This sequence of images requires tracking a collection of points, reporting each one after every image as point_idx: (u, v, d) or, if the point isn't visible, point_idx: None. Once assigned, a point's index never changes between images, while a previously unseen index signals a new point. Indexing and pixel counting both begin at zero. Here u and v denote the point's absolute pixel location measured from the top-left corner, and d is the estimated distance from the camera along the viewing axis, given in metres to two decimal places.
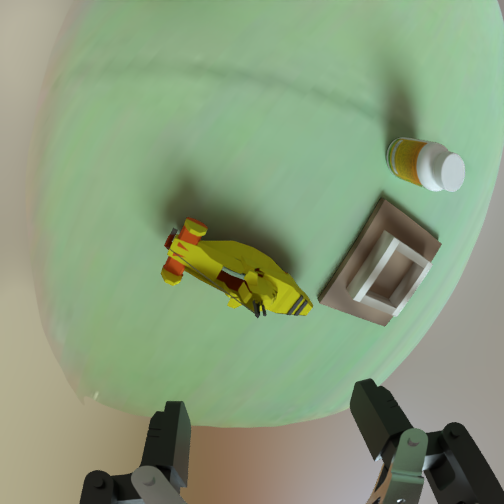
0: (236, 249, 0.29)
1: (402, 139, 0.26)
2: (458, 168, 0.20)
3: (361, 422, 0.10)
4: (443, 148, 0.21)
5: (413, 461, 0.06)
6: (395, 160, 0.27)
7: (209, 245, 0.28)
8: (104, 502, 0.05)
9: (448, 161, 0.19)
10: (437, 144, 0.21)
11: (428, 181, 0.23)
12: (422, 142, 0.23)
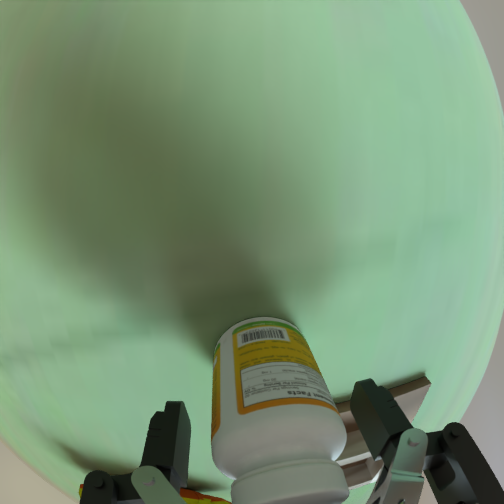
0: None
1: (218, 353, 0.13)
2: (307, 503, 0.05)
3: (361, 422, 0.10)
4: (260, 442, 0.07)
5: (413, 461, 0.06)
6: None
7: None
8: (104, 502, 0.05)
9: None
10: (237, 438, 0.07)
11: None
12: (218, 411, 0.09)
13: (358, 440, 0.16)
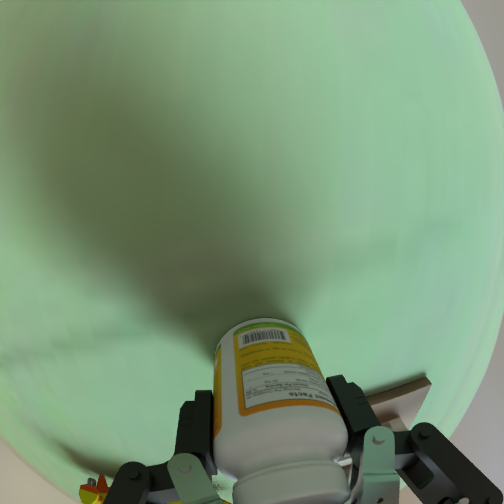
0: None
1: (219, 355, 0.13)
2: None
3: None
4: (262, 444, 0.07)
5: (383, 459, 0.06)
6: None
7: None
8: (141, 494, 0.05)
9: None
10: (238, 440, 0.07)
11: None
12: (220, 413, 0.09)
13: None
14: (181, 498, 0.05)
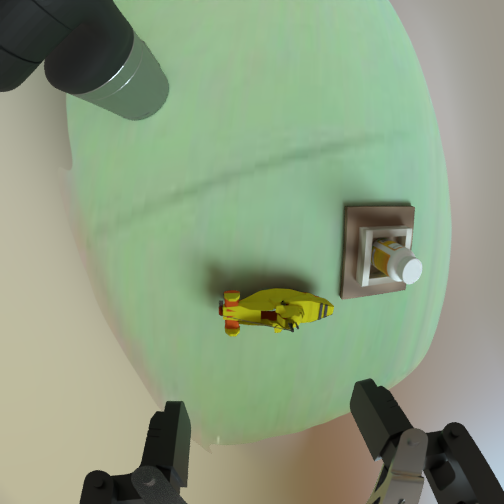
0: (264, 295, 0.41)
1: (375, 247, 0.41)
2: (415, 266, 0.34)
3: (361, 422, 0.10)
4: (401, 254, 0.35)
5: (413, 461, 0.06)
6: (375, 266, 0.41)
7: (246, 301, 0.41)
8: (104, 502, 0.05)
9: (406, 270, 0.34)
10: (396, 254, 0.36)
11: (399, 280, 0.37)
12: (387, 254, 0.37)
13: (387, 227, 0.41)
14: None
